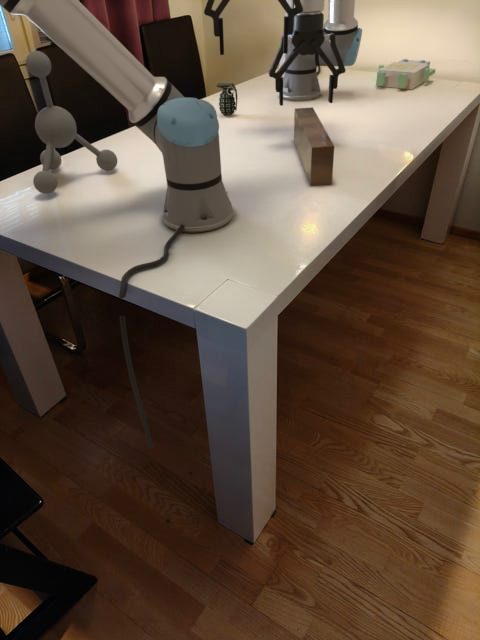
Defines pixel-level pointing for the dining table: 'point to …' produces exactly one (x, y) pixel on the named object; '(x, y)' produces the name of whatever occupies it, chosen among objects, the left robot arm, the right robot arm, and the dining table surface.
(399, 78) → the grey box with connectors
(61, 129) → the molecular model
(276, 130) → the dining table surface
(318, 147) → the bar
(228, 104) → the grenade
